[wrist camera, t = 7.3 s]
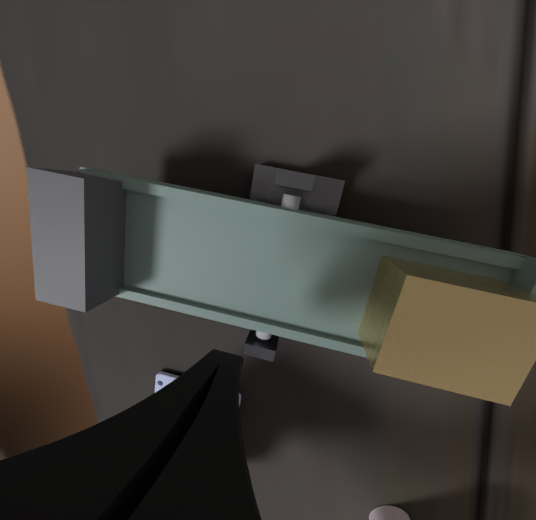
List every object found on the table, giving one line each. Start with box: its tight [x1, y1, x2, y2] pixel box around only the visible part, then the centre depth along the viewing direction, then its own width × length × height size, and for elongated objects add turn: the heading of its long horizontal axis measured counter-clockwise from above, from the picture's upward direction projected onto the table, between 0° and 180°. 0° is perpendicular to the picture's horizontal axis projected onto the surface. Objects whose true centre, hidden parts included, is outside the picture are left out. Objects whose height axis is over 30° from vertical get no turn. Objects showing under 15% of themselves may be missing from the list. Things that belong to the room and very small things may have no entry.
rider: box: [358, 255, 536, 406], centre depth 13 cm, size 5×6×4 cm
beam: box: [26, 167, 536, 358], centre depth 14 cm, size 9×25×4 cm, turn 79°
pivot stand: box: [243, 164, 345, 362], centre depth 17 cm, size 12×6×5 cm, turn 169°
